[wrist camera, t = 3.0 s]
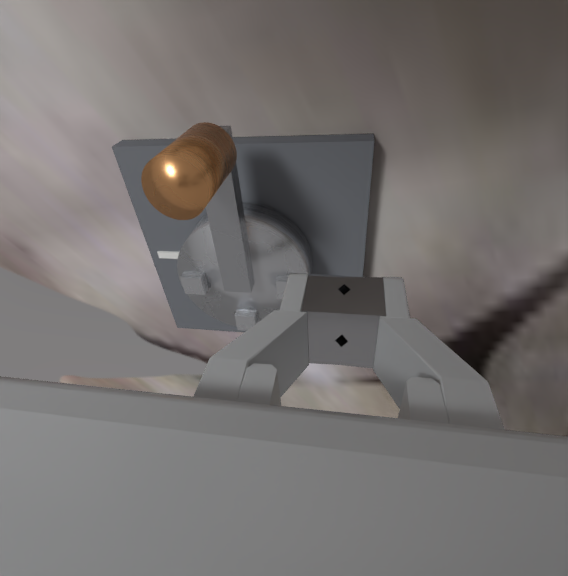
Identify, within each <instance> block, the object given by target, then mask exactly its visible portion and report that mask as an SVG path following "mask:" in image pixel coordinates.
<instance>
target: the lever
mask: <svg viewBox="0 0 568 576" xmlns="http://www.w3.org/2000/svg"><path fill="white" fill-rule="evenodd" d="M236 159H237V152H236V147H235V144H234V142H233V138H232V131H231V126H218V125H215V124H212V123H206V122H204V123H198V124H196V125H194V126H192V127H191V128H190V129H189V130H187V131H186V132H185V133H184V134H182V135H181V136H180V137H179V138H177V139H176V140H175V141H174V142H172V143H171V144H170V145H169V146H167V147H166V148H165V149H164V150H162V151H161V152H160V153H159V154H157V155H156V156H155V157H153V158H152V159H151V160H150V161H149V162H148V163H147V164H146V165H145V167H144V169H143V171H142V176H141V183H142V188H143V191H144V193H145V195H146V197H147V199H148V200H149V202H150V203H151V204H152V206H153V207H154V208H155V209H157V210H158V211H159V212H161V213H162V214H164V215H165V216H167V217H170V218H173V219H177V220H189V219H193V218H195V217H197V216H198V215H200V214H201V213H202V211H203V210H204V209H205V207H206V212H207V214H205V215H204V216H203V217H202V219H201V220H200V221H199V222H198V224H197V225H196V227H195V228H194V230H193V231H192V232H191V234H190V235H189V237H188V238H187V240H186V241H185V242H184V244H183V245H182V247H181V249H180V252H179V255H178V261H177V269H178V275H179V279H180V282H181V284H182V286H183V288H184V291H185V294H187V295H188V296H189V298H190V299H191V300H192V301H193V302H194V303H195V304H196V305H197V306H198V307H199V308H200V309H201V310H203V311H204V312H205V313H207V314H208V315H210V316H211V317H213V318H215V319H217V320H219V321H221V322H224V323H226V324H229V325H232V326H236V327H237V329H238V330H244V331H247V330H248V329H250V328H251V327H252V326H254V325H255V324H256V323H258V322H259V321H260V320H262V319H263V318H264V317H266V316H267V315H269V314H270V313H271V312H273V311H274V310H280V307H281V303H282V299H283V296H284V292H285V288H286V284H287V280H288V277H289V275H290V273H305V274H311V271H312V254H311V250H310V247H309V244H308V242H307V240H306V238H305V236H304V235H303V233H302V232H301V231H300V229H299V228H298V227H297V226H296V225H295V224H294V223H293V222H292V221H291V220H290V219H288V218H287V217H286V216H284V215H283V214H281V213H279V212H278V211H276V210H274V209H271V208H269V207H266V206H263V205H260V204H255V203H248V202H242V196H241V190H240V183H239V177H238V170H237V164H236Z"/></svg>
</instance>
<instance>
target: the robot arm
mask: <svg viewBox="0 0 568 576" xmlns="http://www.w3.org/2000/svg"><path fill="white" fill-rule="evenodd" d="M309 363H317V364H335V365H347V366H356V367H365V368H373V371H374V372H375V373H376V375H377V376H378V378H379V379H380V381H381V382H382V384H383V385H384V387H385V388H386V390H387V391H388V392H389V394H390V395H391V397H392V398H393V400H394V401H395V403H396V404H397V406H398V407H399V409H400V411H399V415H398V418H389V417H380V416H370V415H361V414H351V413H342V412H332V411H323V410H313V409H304V408H295V407H285V406H281V399H280V397H281V396H282V395H283V394H284V393H285V392H286V391H287V389H288V388H289V387H290V386H291V385H292V384H293V382H294V381H295V380H296V379H297V378H298V377H299V376H300V374H301V373H302V372H303V371H304V370H305V369H306V368H307V366H308V365H309ZM0 576H568V436H559V435H549V434H540V433H530V432H521V431H511V430H504V427H503V424H502V421H501V418H500V415H499V412H498V409H497V406H496V403H495V400H494V397H493V395H492V392H491V389H490V386H489V383H488V381H486V380H485V379H484V378H483V377H482V376H481V375H480V374H478V373H477V372H476V371H475V370H474V369H473V368H472V367H470V366H469V365H468V364H467V363H466V362H465V361H464V360H463V359H461V358H460V357H459V356H458V355H457V354H456V353H455V352H453V351H452V350H451V349H450V348H449V347H448V346H447V345H446V344H444V343H443V342H442V341H441V340H440V339H439V338H438V337H436V336H435V335H434V334H433V333H432V332H431V331H430V330H428V329H427V328H426V327H425V326H424V325H423V324H422V323H421V322H419V321H418V320H417V319H415V318H410V314H409V308H408V302H407V296H406V290H405V285H404V279H403V278H402V277H352V276H339V275H322V274H305V273H290V275H289V277H288V280H287V284H286V288H285V292H284V296H283V299H282V303H281V307H280V310H274V311H273V312H271V313H270V314H269V315H267V316H266V317H264V318H263V319H262V320H260V321H259V322H258V323H256V324H255V325H254V326H252V327H251V328H250V329H248V330H247V331H246V332H244V333H243V334H242V335H240V336H239V337H238V338H236V339H235V340H233V341H232V342H231V343H229V344H228V345H227V346H225V347H224V348H223V349H221V350H220V351H219V352H217V353H216V354H215V355H213V356H212V357H211V358H210V359H209V362H208V364H207V366H206V369H205V371H204V373H203V376H202V378H201V380H200V383H199V385H198V387H197V390H196V392H195V394H194V397H190V396H181V395H171V394H162V393H152V392H143V391H134V390H124V389H115V388H105V387H96V386H86V385H77V384H67V383H58V382H48V381H38V380H29V379H20V378H11V377H1V376H0Z"/></svg>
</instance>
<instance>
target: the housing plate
mask: <svg viewBox="0 0 568 576" xmlns="http://www.w3.org/2000/svg"><path fill="white" fill-rule="evenodd" d="M232 138H233V142H234V144H235V147H236V152H237V159H236V164H237V170H238V177H239V183H240V190H241V196H242V202H248V203H255V204H260V205H263V206H266V207H269V208H271V209H274V210H276V211H278V212H279V213H281V214H283V215H284V216H286V217H287V218H288V219H290V220H291V221H292V222H293V223H294V224H295V225H296V226H297V227H298V228H299V229H300V231H301V232H302V233H303V235H304V236H305V238H306V240H307V242H308V244H309V247H310V250H311V254H312V271H311V274H322V275H339V276H352V277H363V268H364V256H365V244H366V233H367V221H368V209H369V198H370V186H371V174H372V163H373V151H374V134H345V135H305V136H265V137H232ZM175 140H176V139H146V140H122V141H120V142H119V143H117V144H115V145H114V146H112V149H113V151H114V154H115V157H116V160H117V162H118V165H119V168H120V171H121V173H122V176H123V179H124V182H125V184H126V187H127V190H128V193H129V196H130V198H131V201H132V204H133V207H134V209H135V212H136V215H137V218H138V220H139V223H140V226H141V229H142V231H143V234H144V237H145V240H146V242H147V245H148V248H149V251H150V253H151V256H152V259H153V262H154V264H155V267H156V270H157V273H158V275H159V278H160V281H161V284H162V286H163V289H164V292H165V295H166V297H167V300H168V303H169V306H170V308H171V311H172V314H173V317H174V319H175V322H176V325H177V328H191V329H205V330H220V331H234V332H246V331H244V330H238V329H237V327H236V326H232V325H229V324H226V323H224V322H221V321H219V320H217V319H215V318H213V317H211V316H210V315H208V314H207V313H205V312H204V311H203V310H201V309H200V308H199V307H198V306H197V305H196V304H195V303H194V302H193V301H192V300H191V299H190V298H189V296H188V295H187V294H185V291H184V288H183V286H182V284H181V282H180V279H179V275H178V269H177V261H178V255H179V252H180V249H181V247H182V245H183V244H184V242H185V241H186V240H187V238H188V237H189V235H190V234H191V232H192V231H193V230H194V228H195V227H196V225H197V224H198V222H199V221H200V220H201V219H202V217H203V216H204V215H205V214H207V212H206V207H205V209H204V210H203V211H202V213H201V214H200V215H198V216H197V217H195V218H193V219H189V220H177V219H173V218H170V217H167V216H165V215H164V214H162V213H161V212H159V211H158V210H157V209H155V208H154V207H153V206H152V204H151V203H150V202H149V200H148V199H147V197H146V195H145V193H144V191H143V188H142V183H141V176H142V171H143V169H144V167H145V165H146V164H147V163H148V162H149V161H150V160H151V159H152V158H153V157H155V156H156V155H157V154H159V153H160V152H161V151H162V150H164V149H165V148H166V147H167V146H169V145H170V144H171V143H172V142H174V141H175Z"/></svg>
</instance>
